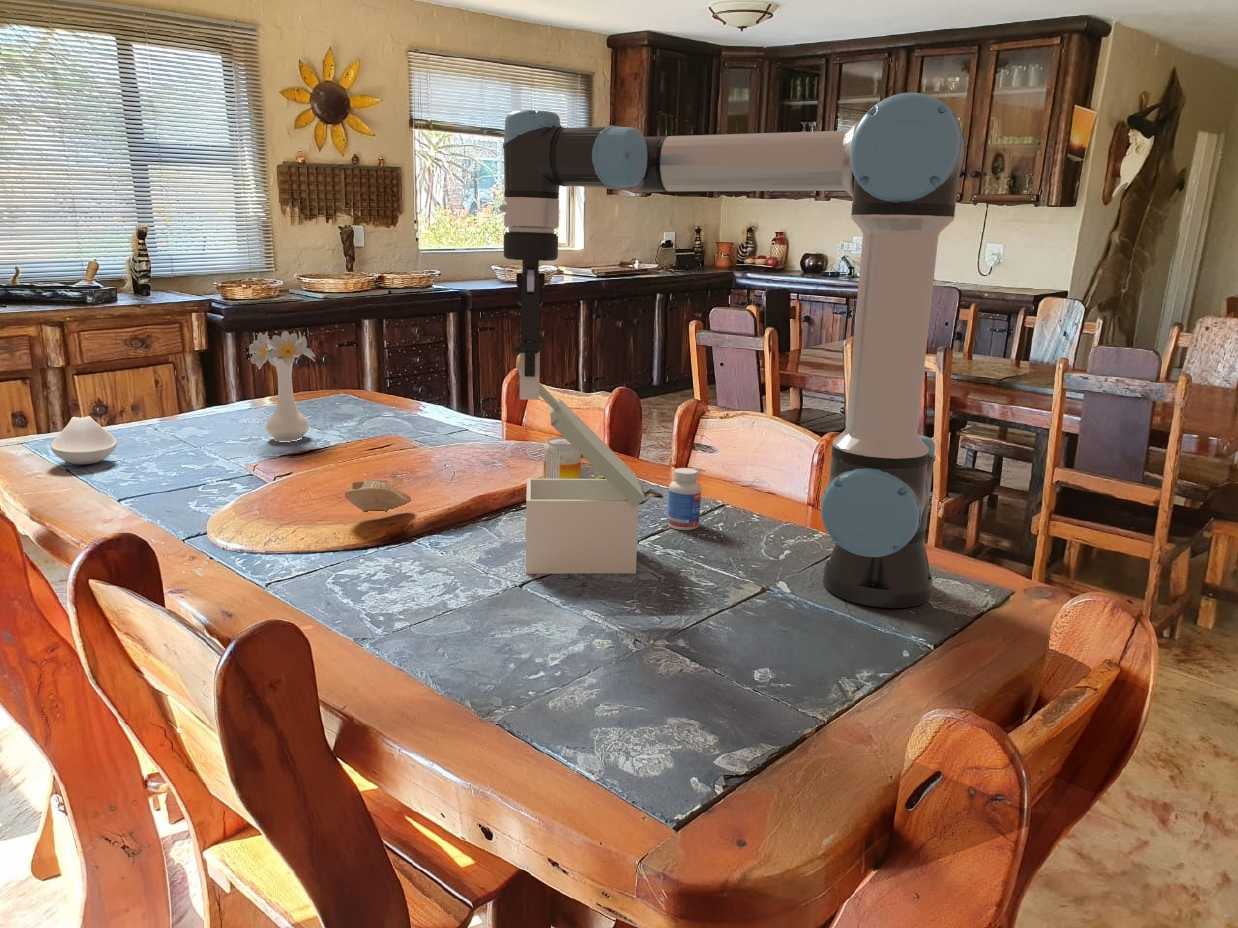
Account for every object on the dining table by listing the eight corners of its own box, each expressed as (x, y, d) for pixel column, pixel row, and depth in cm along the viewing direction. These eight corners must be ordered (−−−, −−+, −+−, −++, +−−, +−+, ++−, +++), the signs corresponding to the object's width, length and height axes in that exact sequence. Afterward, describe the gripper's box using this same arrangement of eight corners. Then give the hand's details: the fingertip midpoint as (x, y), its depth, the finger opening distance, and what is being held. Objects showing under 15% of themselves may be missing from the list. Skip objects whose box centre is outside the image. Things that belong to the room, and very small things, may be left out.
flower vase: (285, 430, 220) (279, 325, 213) (334, 442, 209) (329, 332, 203) (235, 439, 209) (227, 328, 203) (284, 451, 199) (277, 336, 193)
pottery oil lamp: (427, 514, 159) (426, 474, 157) (366, 529, 150) (365, 487, 149) (397, 503, 165) (396, 465, 163) (337, 517, 156) (335, 477, 154)
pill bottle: (697, 532, 154) (700, 476, 151) (665, 529, 155) (667, 473, 152) (700, 522, 159) (703, 468, 157) (670, 519, 160) (672, 465, 158)
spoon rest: (121, 464, 186) (117, 430, 184) (53, 471, 180) (48, 435, 178) (112, 441, 205) (109, 409, 203) (50, 446, 199) (46, 413, 197)
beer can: (585, 525, 155) (587, 439, 152) (568, 535, 150) (570, 446, 146) (554, 520, 158) (555, 435, 154) (536, 530, 152) (537, 441, 149)
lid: (626, 482, 144) (644, 465, 144) (635, 507, 131) (655, 488, 131) (506, 363, 138) (525, 345, 137) (503, 377, 125) (524, 357, 124)
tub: (627, 545, 146) (630, 479, 143) (635, 573, 134) (638, 501, 132) (526, 546, 144) (527, 478, 142) (525, 573, 133) (526, 500, 130)
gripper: (505, 229, 136) (505, 382, 142) (501, 229, 117) (500, 406, 122) (556, 231, 137) (553, 383, 143) (560, 231, 117) (557, 407, 123)
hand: (529, 393), depth 132 cm, fingers closed on lid, 8 cm apart
